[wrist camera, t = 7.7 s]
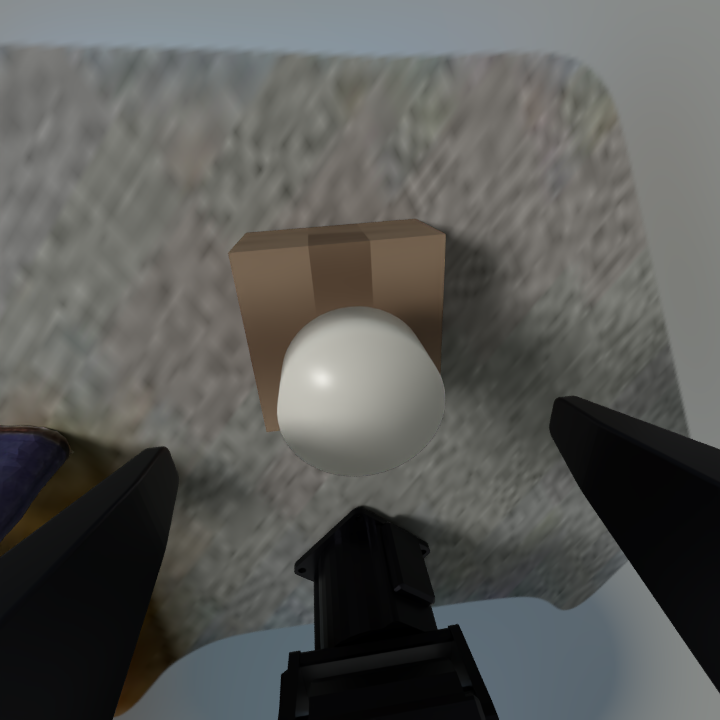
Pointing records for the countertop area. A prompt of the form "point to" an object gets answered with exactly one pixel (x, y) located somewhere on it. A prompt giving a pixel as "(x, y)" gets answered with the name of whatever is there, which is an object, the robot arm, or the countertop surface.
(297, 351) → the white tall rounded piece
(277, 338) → the block
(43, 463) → the flask
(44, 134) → the countertop surface
